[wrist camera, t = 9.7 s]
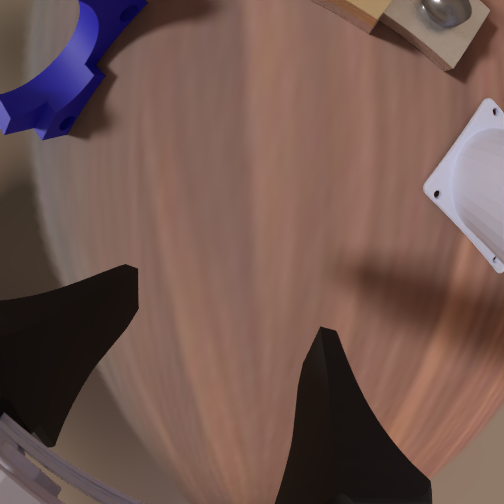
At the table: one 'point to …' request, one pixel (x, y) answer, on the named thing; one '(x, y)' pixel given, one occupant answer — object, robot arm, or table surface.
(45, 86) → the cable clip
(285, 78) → the table surface
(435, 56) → the square frame connector
